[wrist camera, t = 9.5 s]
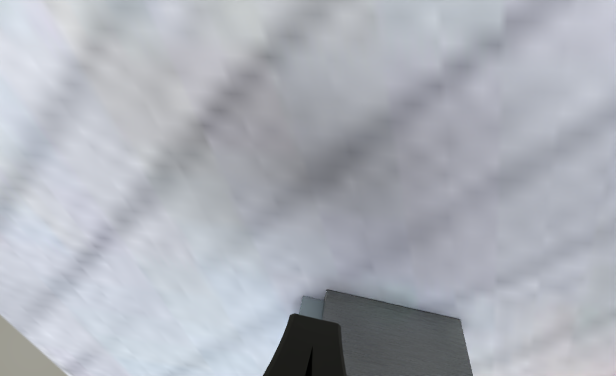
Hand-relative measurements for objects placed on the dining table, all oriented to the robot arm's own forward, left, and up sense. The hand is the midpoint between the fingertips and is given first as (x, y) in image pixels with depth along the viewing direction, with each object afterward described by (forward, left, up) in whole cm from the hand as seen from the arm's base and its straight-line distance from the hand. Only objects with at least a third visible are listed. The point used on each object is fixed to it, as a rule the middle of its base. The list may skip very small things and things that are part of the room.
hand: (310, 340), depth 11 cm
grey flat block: (-5, +9, -9) cm, 14 cm away
